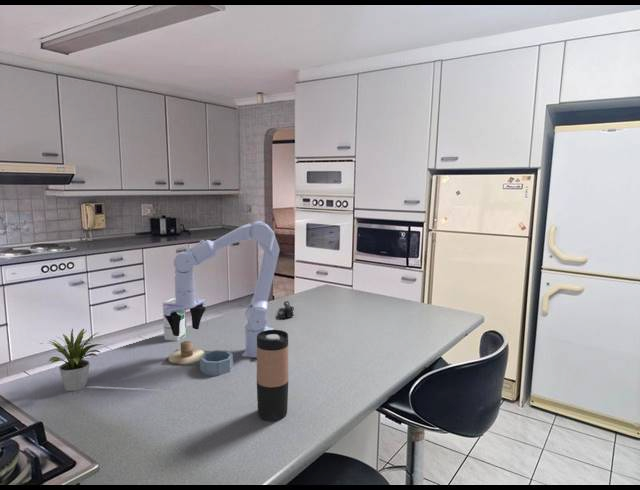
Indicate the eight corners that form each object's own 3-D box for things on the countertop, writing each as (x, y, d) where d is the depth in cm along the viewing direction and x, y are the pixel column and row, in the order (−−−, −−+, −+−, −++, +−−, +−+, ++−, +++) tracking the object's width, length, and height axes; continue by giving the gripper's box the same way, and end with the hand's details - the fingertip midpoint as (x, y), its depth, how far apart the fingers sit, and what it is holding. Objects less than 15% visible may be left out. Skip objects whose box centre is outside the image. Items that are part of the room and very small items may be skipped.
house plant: (57, 408, 101) (52, 344, 99) (30, 392, 108) (25, 333, 106) (112, 385, 113) (109, 328, 111) (85, 373, 120) (81, 319, 118)
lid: (209, 351, 136) (209, 337, 135) (197, 365, 125) (197, 350, 124) (177, 350, 136) (176, 336, 136) (162, 364, 126) (161, 349, 125)
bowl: (235, 364, 127) (235, 350, 127) (227, 377, 118) (226, 363, 118) (207, 363, 128) (206, 349, 127) (196, 376, 119) (196, 361, 118)
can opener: (294, 320, 173) (294, 307, 172) (277, 320, 172) (278, 307, 171) (294, 308, 190) (294, 296, 189) (279, 308, 190) (279, 296, 189)
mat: (211, 352, 136) (211, 350, 136) (198, 368, 124) (198, 366, 124) (176, 351, 137) (176, 349, 137) (160, 366, 125) (160, 364, 125)
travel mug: (257, 405, 103) (257, 329, 101) (288, 404, 104) (288, 329, 101) (255, 422, 96) (255, 340, 93) (288, 421, 97) (288, 340, 94)
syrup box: (178, 342, 145) (177, 302, 143) (163, 341, 146) (162, 301, 144) (187, 336, 150) (185, 298, 149) (172, 335, 152) (171, 297, 150)
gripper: (194, 284, 136) (195, 323, 138) (156, 292, 124) (158, 335, 126) (209, 287, 132) (210, 327, 134) (171, 296, 120) (173, 340, 122)
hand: (186, 331), depth 130 cm, fingers open, 7 cm apart
